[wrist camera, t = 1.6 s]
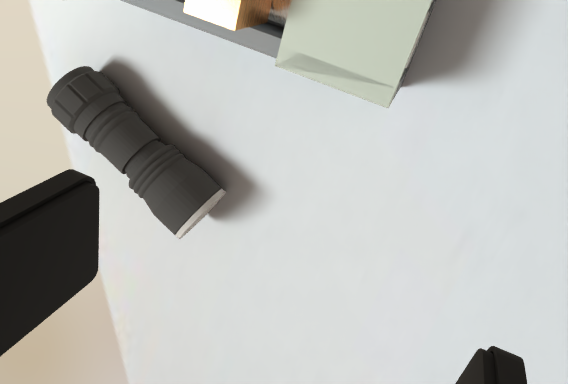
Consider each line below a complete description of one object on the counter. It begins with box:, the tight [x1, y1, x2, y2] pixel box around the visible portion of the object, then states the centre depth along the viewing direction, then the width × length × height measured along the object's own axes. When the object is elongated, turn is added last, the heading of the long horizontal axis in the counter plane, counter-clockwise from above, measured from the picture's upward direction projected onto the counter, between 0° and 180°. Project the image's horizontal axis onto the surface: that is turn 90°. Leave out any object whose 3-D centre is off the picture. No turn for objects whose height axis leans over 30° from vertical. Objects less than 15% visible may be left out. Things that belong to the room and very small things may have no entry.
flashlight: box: [47, 66, 226, 239], centre depth 37 cm, size 15×5×5 cm, turn 50°
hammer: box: [184, 0, 429, 68], centre depth 25 cm, size 14×3×8 cm, turn 75°
